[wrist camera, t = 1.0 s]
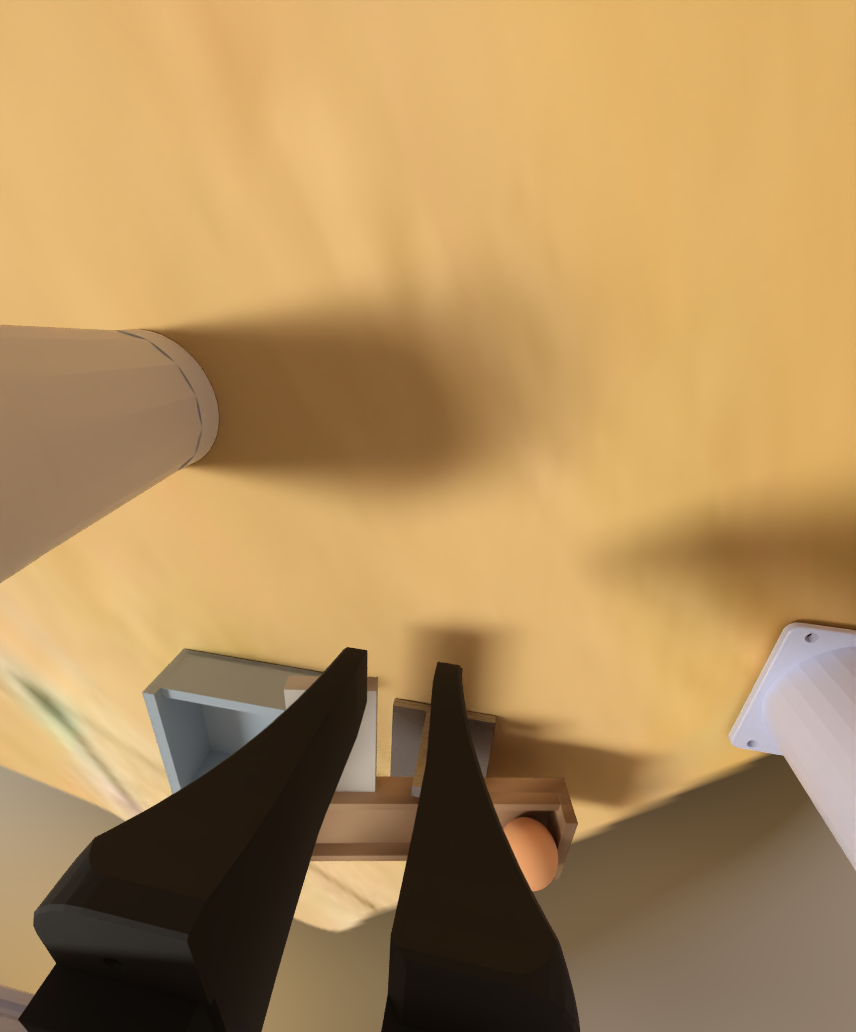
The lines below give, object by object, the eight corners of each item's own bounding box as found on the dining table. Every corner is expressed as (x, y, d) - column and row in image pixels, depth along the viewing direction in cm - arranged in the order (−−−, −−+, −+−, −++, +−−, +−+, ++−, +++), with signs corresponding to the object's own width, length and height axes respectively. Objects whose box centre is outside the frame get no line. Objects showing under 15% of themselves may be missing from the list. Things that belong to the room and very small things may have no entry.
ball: (550, 802, 23) (573, 867, 21) (540, 835, 25) (561, 900, 22) (495, 806, 23) (511, 873, 20) (488, 840, 24) (502, 906, 22)
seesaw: (592, 681, 21) (612, 723, 19) (546, 835, 26) (557, 881, 24) (288, 675, 20) (274, 719, 18) (304, 835, 25) (295, 882, 23)
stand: (495, 716, 26) (493, 801, 21) (481, 793, 29) (477, 883, 24) (395, 698, 26) (372, 778, 22) (391, 776, 29) (371, 860, 25)
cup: (268, 407, 20) (-11, 520, 9) (182, 511, 23) (-99, 686, 12) (121, 264, 18) (-428, 197, 8) (51, 397, 21) (-405, 485, 11)
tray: (325, 673, 26) (301, 722, 23) (330, 774, 30) (310, 828, 27) (183, 648, 27) (142, 692, 24) (207, 750, 31) (173, 798, 28)
